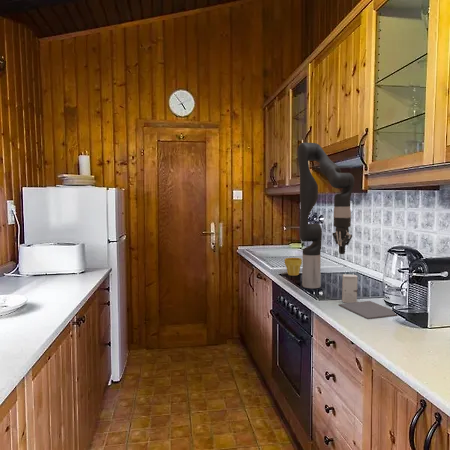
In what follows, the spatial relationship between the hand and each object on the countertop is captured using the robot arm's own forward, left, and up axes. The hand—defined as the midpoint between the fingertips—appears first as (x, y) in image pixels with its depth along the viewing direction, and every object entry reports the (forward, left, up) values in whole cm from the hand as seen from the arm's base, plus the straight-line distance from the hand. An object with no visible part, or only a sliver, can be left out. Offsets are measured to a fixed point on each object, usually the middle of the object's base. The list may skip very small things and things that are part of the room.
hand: (341, 253), depth 176 cm
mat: (+20, 0, -21) cm, 29 cm away
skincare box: (+6, 0, -21) cm, 22 cm away
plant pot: (-57, +3, -21) cm, 61 cm away
